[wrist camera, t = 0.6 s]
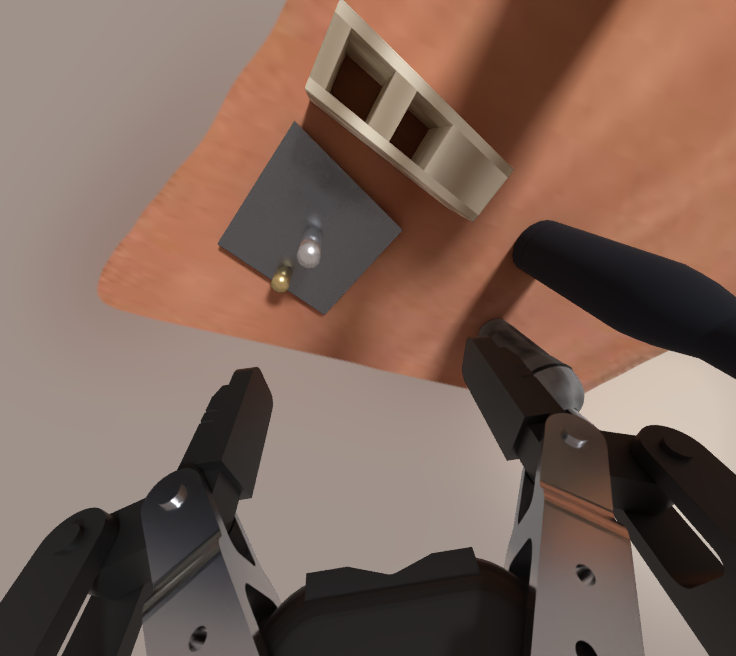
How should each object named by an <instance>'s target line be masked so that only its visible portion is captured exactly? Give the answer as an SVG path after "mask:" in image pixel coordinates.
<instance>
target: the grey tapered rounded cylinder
mask: <svg viewBox="0 0 736 656" xmlns="http://www.w3.org/2000/svg"><path fill="white" fill-rule="evenodd" d="M481 336H490V337H491V338H492V339H493V341H494V342H495V343H496V345H497V346H498V347H499V348H500V347H506V348H507V349H509V350H510V351H512V352H513V353H515V354H517V355H518V356H519V357H520V359H521V360H522V361H523V362H524V363H525V365H526V367H527V368H529V369H530V371H531V372H532V373H533V374H534V377H536V378H537V379H538V380H539V381H540V382H541V384H542V385H543V386H544V387H545V388H546V389H547V391H548V392H549V393H550V394H551V395H552V397H553V398H554V399H555V400H556V401H557V403H558V404H559V405H560V406H561V407H562V408H563V410H564V411H565V412H566V413H567V414H572V415H576V416H578V417H581V418H583V419H585V420H587V419H586V418H585V417H583V416H582V415H581V414H580V413H579V411H580V409H581V408H582V406H583V402H584V389H583V386H582V384H581V382H580V380H579V378H578V377H577V375H576V374H575V373H574V372H573V370H572V368H571V367H570V366H568V365H566V364H564V363H562V362H561V361H559V360H557V359H556V358H554V357H552V356H550V355H549V354H548V353H546V352H545V351H544V350H543V349H541V348H540V347H539V346H537V345H536V344H535V343H534V342H532V341H531V340H530V339H529V338H527V337H526V336H525V335H523V334H522V333H521V332H520V331H518V330H517V329H516V328H514V327H513V326H512V325H510V324H508V323H507V322H506V321H504V320H503V319H493V320H490V321H488V322H487V323H485V324H484V325H483V326H482V327H481V329H480V331H479V337H481ZM587 421H588V420H587ZM588 422H589V421H588ZM590 423H591V422H590ZM591 424H592V423H591ZM598 430H599V429H598Z"/></svg>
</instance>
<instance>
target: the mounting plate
mask: <svg viewBox="0 0 736 656" xmlns="http://www.w3.org/2000/svg"><path fill="white" fill-rule="evenodd" d="M401 231H402V229H401V228H400V227H399V226H398V225H397V224H396V223H395V222H394V221H393V220H392V219H391V218H390V217H389V216H388V215H387V214H386V213H385V212H384V211H383V210H382V209H381V208H380V207H379V206H378V205H377V204H376V203H375V202H374V201H373V200H372V199H371V197H370V196H369V195H368V194H367V193H366V192H365V191H364V190H363V189H362V188H361V187H360V186H359V185H358V184H357V183H356V182H355V181H354V180H353V179H352V178H351V177H350V176H349V175H348V174H347V173H346V172H345V171H344V170H343V169H342V168H341V167H340V166H339V165H338V164H337V163H336V162H335V161H334V160H333V159H332V158H331V157H330V156H329V155H328V154H327V153H326V152H325V151H324V150H323V149H322V148H321V147H320V146H319V145H318V144H317V143H316V142H315V141H314V140H313V139H312V138H311V137H310V136H309V135H308V134H307V133H306V132H305V131H304V130H303V129H302V128H301V127H300V126H299V125H298V124H297V123H296V122H295V121H294V122H293V124H292V126H291V127H290V129H289V130H288V132H287V134H286V135H285V137H284V138H283V140H282V141H281V143H280V145H279V146H278V148H277V149H276V151H275V153H274V154H273V156H272V157H271V159H270V161H269V162H268V164H267V165H266V167H265V169H264V170H263V172H262V173H261V175H260V177H259V178H258V180H257V181H256V183H255V185H254V186H253V188H252V189H251V191H250V193H249V194H248V196H247V197H246V199H245V201H244V202H243V204H242V205H241V207H240V209H239V210H238V212H237V213H236V215H235V217H234V218H233V220H232V221H231V223H230V225H229V226H228V228H227V229H226V231H225V233H224V234H223V236H222V237H221V239H220V241H219V242H218V245H220V246H221V247H223V248H224V249H226V250H227V251H229V252H230V253H232V254H233V255H235V256H236V257H238V258H239V259H241V260H242V261H244V262H245V263H247V264H248V265H250V266H251V267H253V268H254V269H256V270H257V271H259V272H261V273H262V274H264V275H265V276H267V277H268V278H270V279H271V280H272V281H271V287H272V288H273V290H275V291H276V292H280V293H282V292H285V291H286V290H288V291H289V292H291V293H292V294H294V295H295V296H297V297H298V298H300V299H301V300H303V301H304V302H306V303H307V304H309V305H310V306H312V307H313V308H315V309H316V310H318V311H319V312H321V313H322V314H324V315H325V314H326V313H327V312H328V311H329V310H330V309H331V307H332V306H333V305H334V304H335V303H336V302H337V301H338V300H339V299H340V298H341V297H342V295H343V294H344V293H345V292H346V291H347V290H348V289H349V288H350V287H351V286H352V285H353V283H354V282H355V281H356V280H357V279H358V278H359V277H360V276H361V275H362V274H363V273H364V272H365V270H366V269H367V268H368V267H369V266H370V265H371V264H372V263H373V262H374V261H375V260H376V258H377V257H378V256H379V255H380V254H381V253H382V252H383V251H384V250H385V249H386V248H387V246H388V245H389V244H390V243H391V242H392V241H393V240H394V239H395V238H396V237H397V236H398V234H399V233H400V232H401Z"/></svg>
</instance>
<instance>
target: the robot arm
mask: <svg viewBox="0 0 736 656" xmlns="http://www.w3.org/2000/svg"><path fill="white" fill-rule="evenodd" d="M462 373H463V378H464V381H465V383H466V385H467V387H468V389H469V390H470V392H471V394H472V396H473V398H474V400H475V402H476V403H477V405H478V407H479V409H480V411H481V413H482V415H483V417H484V418H485V420H486V422H487V424H488V426H489V428H490V429H491V431H492V433H493V435H494V437H495V439H496V441H497V443H498V444H499V447H500V448H501V450H502V452H503V454H504V456H505V458H506V460H507V461H508V460H514V459H520V461H521V463H522V465H523V466H524V468H523V470H522V476H521V483H520V489H519V495H518V502H517V508H516V515H515V521H514V527H513V531H512V535H511V538H510V541H509V545H508V549H507V553H506V559H505V565H504V568H502V567H500V566H498V565H496V564H494V563H492V562H489V561H486V560H483V559H479V558H476V557H475V554H474V551H473V548H472V547H469V548H463V549H457V550H450V551H443V552H437V553H432V554H430V555H428V556H426V557H424V558H423V559H421V560H419V561H417V562H415V563H413V564H411V565H410V566H408V567H406V568H404V569H402V570H401V571H399V572H397V573H395V574H390V575H388V574H383V573H378V572H372V571H367V570H362V569H356V568H351V567H343V568H337V569H331V570H325V571H318V572H312V573H307V574H306V585H305V586H303V587H301V588H300V589H298V590H297V591H296V592H294V593H293V594H292V595H290V596H289V597H288V598H287V599H286V600H285V601H284V602H283V603H281V601H280V599H279V597H278V595H277V593H276V591H275V589H274V587H273V585H272V584H271V582H270V580H269V579H268V577H267V576H266V574H265V573H264V571H263V570H262V568H261V566H260V564H259V562H258V560H257V558H256V555H255V553H254V551H253V548H252V546H251V544H250V542H249V540H248V537H247V535H246V533H245V531H244V529H243V526H242V524H241V522H240V520H239V518H238V515H237V514H236V509H237V505H238V501H239V500H242V499H248V498H252V495H253V490H254V486H255V482H256V477H257V473H258V469H259V464H260V460H261V456H262V451H263V447H264V443H265V439H266V434H267V430H268V426H269V422H270V417H271V412H272V407H273V399H272V395H271V392H270V390H269V388H268V385H267V384H266V381H265V379H264V377H263V374H262V372H261V370H260V369H259V368H258V367H253V368H245V369H238V370H236V371H235V372H234V374H233V376H232V379H231V381H230V383H229V385H224V386H222V387H221V388H220V389H219V391H217V393H216V394H215V395H214V396H213V397H212V398H211V400H210V403H209V405H208V407H207V409H206V413H204V415H203V417H202V419H201V424H199V426H198V428H197V430H196V432H195V434H194V436H193V438H192V440H191V442H190V445H189V447H188V449H187V451H186V453H185V455H184V457H183V459H182V462H181V463H180V466H179V467H178V469H177V471H174V472H172V473H170V474H169V475H167V476H166V477H164V478H163V479H161V480H160V481H159V482H158V483H157V484H156V485H155V486H154V487H153V488H152V490H151V491H150V492H149V493H148V495H147V496H146V498H144V499H142V500H140V501H138V502H136V503H133V504H131V505H129V506H127V507H125V508H122V509H120V510H118V511H115V512H114V513H111V514H108V513H106V512H105V511H103V510H102V509H99V508H89V509H85V510H82V511H80V512H78V513H76V514H74V515H72V516H71V517H69V518H67V519H66V520H65V521H63V522H62V523H61V524H59V525H58V526H57V527H56V528H55V529H54V530H53V531H52V532H51V533H50V534H49V535H48V536H47V537H46V538H45V539H44V540H43V541H42V543H41V544H40V546H39V547H38V548H37V550H36V551H35V553H34V554H33V556H32V557H31V559H30V560H29V561H28V563H27V565H26V566H25V567H24V569H23V570H22V572H21V573H20V575H19V576H18V578H17V579H16V581H15V582H14V583H13V585H12V586H11V588H10V589H9V591H8V592H7V594H6V595H5V597H4V598H3V600H2V601H1V602H0V656H57V654H58V652H59V650H60V648H61V645H62V644H63V642H64V640H65V638H66V636H67V634H68V632H69V630H70V628H71V626H72V624H73V622H74V620H75V618H76V616H77V614H78V612H79V610H80V608H81V606H82V604H83V602H84V600H85V598H86V596H87V594H89V595H91V597H90V599H89V601H88V603H87V605H86V607H85V609H84V611H83V613H82V615H81V618H80V620H79V622H78V623H77V625H76V628H75V630H74V632H73V634H72V636H71V638H70V640H69V642H68V644H67V646H66V648H65V650H64V652H63V654H62V656H131V653H132V651H133V648H134V645H135V642H136V639H137V637H138V634H139V631H140V628H141V626H142V624H143V631H144V639H145V646H146V653H147V656H645V655H644V647H643V639H642V631H641V623H640V614H639V607H638V598H637V591H636V583H635V574H634V566H633V558H632V549H631V542H630V540H631V541H632V543H633V545H634V546H635V547H636V549H637V550H638V552H639V553H640V555H641V556H642V558H643V559H644V561H645V562H646V564H647V565H648V566H649V568H650V569H651V571H652V572H653V574H654V575H655V577H656V578H657V580H658V581H659V583H660V584H661V586H662V587H663V588H664V590H665V591H666V593H667V594H668V596H669V597H670V599H671V600H672V602H673V603H674V605H675V606H676V608H677V609H678V610H679V612H680V613H681V615H682V616H683V617H684V619H685V621H686V622H687V624H688V625H689V627H690V628H691V629H692V631H693V632H694V634H695V635H696V637H697V638H698V640H699V641H700V642H701V644H702V646H703V647H704V648H705V650H706V651H707V653H708V654H709V656H736V475H735V474H734V473H733V472H732V471H731V470H730V469H729V468H728V467H726V466H725V465H724V464H723V463H722V462H721V461H720V460H718V459H717V458H716V457H715V456H714V455H713V454H712V453H711V452H710V451H708V450H707V449H706V448H705V447H704V446H703V445H701V444H700V443H699V442H697V441H696V440H695V439H693V438H691V437H690V436H688V435H686V434H684V433H682V432H680V431H677V430H675V429H672V428H669V427H665V426H659V425H650V426H646V427H644V428H643V429H641V431H640V432H639V433H638V434H637V435H636V436H635V435H628V434H620V433H613V432H606V431H601V430H598V429H597V428H596V427H595V426H594V425H593V424H591V423H590V422H588V421H587V420H585V419H583V418H581V417H578V416H576V415H572V414H567V413H566V412H565V411H564V410H563V408H562V407H561V406H560V405H559V404H558V403H557V401H556V400H555V399H554V398H553V397H552V395H551V394H550V393H549V392H548V391H547V389H546V388H545V387H544V386H543V385H542V384H541V382H540V381H539V380H538V379H537V378H536V377H534V374H533V373H532V372H531V371H530V369H529V368H527V367H526V365H525V363H524V362H523V361H522V360H521V359H520V357H519V356H518V355H517V354H515V353H513V352H512V351H510V350H509V349H507V348H506V347H500V348H499V347H498V346H497V345H496V343H495V342H494V341H493V339H492V338H491V337H490V336H481V337H473V338H468V339H467V341H466V345H465V351H464V358H463V365H462ZM674 504H675V505H676V506H677V508H678V509H679V510H680V511H681V512H682V513H683V515H684V516H685V517H686V518H687V519H688V520H689V521H690V523H691V524H692V525H693V526H694V527H695V528H696V530H697V531H698V532H699V533H700V534H701V535H702V536H703V538H704V539H705V540H706V541H707V542H708V543H709V544H710V546H711V547H712V548H713V549H714V550H715V551H716V553H717V554H718V556H719V557H720V559H721V561H722V563H723V565H722V564H721V562H720V561H719V560H718V559H717V558H716V557H715V555H714V554H713V553H712V552H711V551H710V550H709V548H708V547H707V546H706V545H705V544H704V543H703V542H702V540H701V539H700V538H699V537H698V536H697V534H696V533H695V532H694V531H693V530H692V529H691V527H690V526H689V525H688V524H687V523H686V522H685V520H683V518H682V517H681V516H680V515H679V513H678V512H677V511H676V510H675V509H674V508H673V507H672V505H674ZM614 517H615V518H616V520H617V521H618V522H617V521H616V520H615V518H614Z"/></svg>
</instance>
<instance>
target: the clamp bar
mask: <svg viewBox="0 0 736 656" xmlns="http://www.w3.org/2000/svg"><path fill="white" fill-rule="evenodd" d="M346 54H347V55H348V56H349V57H350V58H351V59H352V60H353V61H355V62H356V63H357V64H358V65H359V66H360V67H361V68H362V69H363V70H364V71H366V72H367V73H368V74H369V75H370V76H371V77H372V78H373V79H374V80H375V81H377V82H378V83H379V84H380V85H381V86H382V88H381V90H380V92H379V94H378V96H377V98H376V100H375V102H374V104H373V106H372V108H371V110H370V112H369V114H368V116H367V118H366V120H365V122H364V121H363V120H361V119H360V118H359V117H358V116H357V115H355V114H354V113H353V112H352V111H350V110H349V109H348V108H347V107H346V106H344V105H343V104H342V103H341V102H339V101H338V100H337V99H336V98H335V97H333V96H332V95H331V94H330V91H331V89H332V86H333V84H334V82H335V80H336V77H337V75H338V73H339V70H340V68H341V66H342V63H343V61H344V59H345V56H346ZM305 90H306V92H307V95H308V97H309V100H310V101H311V102H312V103H314V104H315V105H316V106H317V107H319V108H320V109H321V110H322V111H324V112H325V113H326V114H328V115H329V116H330V117H331V118H333V119H334V120H335V121H337V122H338V123H339V124H340V125H342V126H343V127H344V128H346V129H347V130H348V131H349V132H351V133H352V134H353V135H354V136H356V137H357V138H358V139H360V140H361V141H362V142H363V143H365V144H366V145H367V146H369V147H370V148H371V149H372V150H374V151H375V152H376V153H377V154H379V155H380V156H381V157H383V158H384V159H385V160H386V161H388V162H389V163H390V164H392V165H393V166H394V167H395V168H397V169H398V170H399V171H400V172H402V173H403V174H404V175H406V176H407V177H408V178H409V179H411V180H412V181H413V182H415V183H416V184H417V185H418V186H420V187H421V188H422V189H424V190H425V191H426V192H427V193H429V194H430V195H431V196H432V197H434V198H435V199H436V200H438V201H439V202H440V203H441V204H443V205H444V206H445V207H447V208H448V209H449V210H451V211H453V212H455V213H457V214H459V215H460V216H462V217H464V218H466V219H468V220H470V221H472V222H474V221H475V219H476V218H477V217H478V215H479V214H480V213H481V212H482V210H483V209H484V208H485V206H486V205H487V204H488V203H489V201H490V200H491V199H492V197H493V196H494V195H495V194H496V192H497V191H498V190H499V188H500V187H501V186H502V185H503V183H504V182H505V181H506V179H507V178H508V177H509V176H510V174H511V173H512V172H513V170H514V169H513V168H512V167H511V166H510V165H509V164H508V163H507V162H506V161H505V160H504V159H503V158H502V157H501V156H500V155H499V154H498V153H497V152H496V151H495V150H494V149H493V148H492V147H491V146H490V145H489V144H488V143H487V142H486V141H485V140H484V139H483V138H482V137H481V136H480V135H479V134H478V133H477V132H476V131H475V130H474V129H473V128H472V127H471V126H470V125H469V124H468V123H467V122H466V121H465V120H463V119H462V118H461V117H460V116H459V115H458V114H457V113H456V112H455V111H454V110H453V109H452V108H451V107H450V106H449V105H448V104H447V103H446V102H445V101H444V100H443V99H442V98H441V97H440V96H439V95H438V94H437V93H436V92H435V91H434V90H433V89H432V88H431V87H430V86H429V85H428V84H427V83H426V82H425V81H424V80H423V79H422V78H421V77H420V76H419V75H418V74H417V73H416V72H415V71H414V70H413V69H412V68H411V67H410V66H409V65H408V64H407V63H406V62H405V61H404V60H403V59H402V58H401V57H400V56H399V55H398V54H397V53H396V52H395V51H394V50H393V49H392V48H391V47H390V46H389V45H388V44H387V43H386V42H385V41H384V40H383V39H382V38H381V37H380V36H379V35H378V34H377V33H376V32H375V31H374V30H373V29H372V28H371V27H370V26H369V25H368V24H367V23H366V22H365V21H364V20H363V19H362V18H361V17H360V16H359V15H358V14H357V13H356V12H355V11H354V10H353V9H352V8H351V7H350V6H349V5H348V4H347V3H346V2H345V1H344V0H339V3H338V5H337V8H336V10H335V13H334V15H333V18H332V20H331V23H330V25H329V28H328V30H327V33H326V36H325V38H324V41H323V43H322V46H321V48H320V51H319V53H318V56H317V58H316V61H315V64H314V66H313V69H312V71H311V74H310V76H309V79H308V81H307V84H306V86H305ZM406 110H408V111H410V112H411V113H412V114H413V115H414V116H415V117H416V118H417V119H418V120H420V121H421V122H422V123H423V124H424V125H425V126H426V127H427V128H428V129H429V130H428V132H427V133H426V135H425V136H424V138H423V140H422V141H421V143H420V145H419V146H418V148H417V150H416V151H415V153H414V155H413V156H412V158H411V160H410V159H409V158H408V157H407V156H405V155H404V154H403V153H402V152H401V151H399V150H398V149H397V148H396V147H394V146H393V145H392V144H391V143H390V142H389V141H390V139H391V137H392V135H393V134H394V132H395V130H396V128H397V126H398V125H399V123H400V121H401V119H402V117H403V116H404V114H405V112H406Z"/></svg>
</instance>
